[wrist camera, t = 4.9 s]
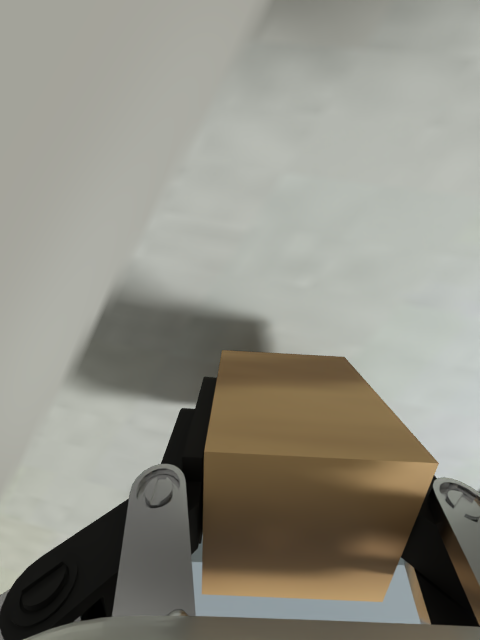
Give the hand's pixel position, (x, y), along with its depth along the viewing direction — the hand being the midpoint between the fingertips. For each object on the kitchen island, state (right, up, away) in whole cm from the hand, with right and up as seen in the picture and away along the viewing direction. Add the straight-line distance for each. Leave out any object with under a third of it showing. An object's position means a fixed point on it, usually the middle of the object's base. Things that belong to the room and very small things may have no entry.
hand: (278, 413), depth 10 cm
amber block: (0, 0, +1) cm, 1 cm away
